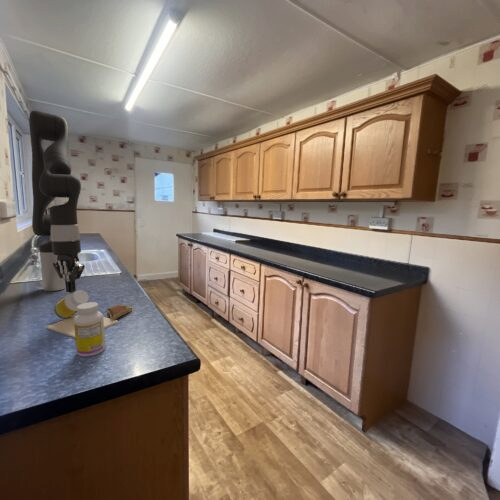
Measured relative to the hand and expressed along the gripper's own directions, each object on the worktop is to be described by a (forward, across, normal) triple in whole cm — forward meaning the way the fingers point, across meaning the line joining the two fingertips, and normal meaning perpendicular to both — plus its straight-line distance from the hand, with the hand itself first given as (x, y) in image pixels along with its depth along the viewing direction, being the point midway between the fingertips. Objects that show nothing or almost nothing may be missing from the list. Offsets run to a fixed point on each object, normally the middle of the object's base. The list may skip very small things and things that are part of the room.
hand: (71, 291), depth 88 cm
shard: (+10, +9, +11) cm, 17 cm away
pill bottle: (+7, -6, 0) cm, 9 cm away
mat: (+10, +6, -1) cm, 12 cm away
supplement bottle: (+11, +22, -10) cm, 27 cm away
